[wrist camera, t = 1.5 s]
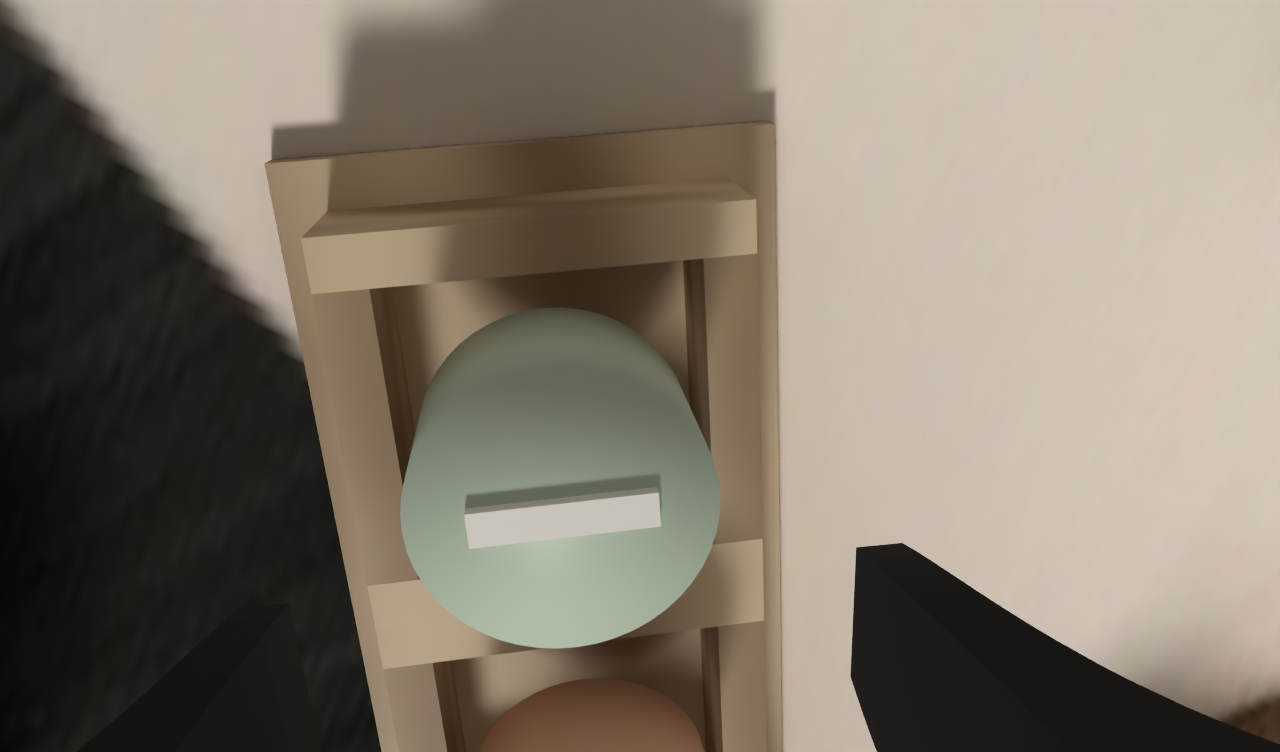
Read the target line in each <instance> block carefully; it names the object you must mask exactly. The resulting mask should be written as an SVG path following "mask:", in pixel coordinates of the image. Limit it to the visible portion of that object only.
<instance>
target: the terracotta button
mask: <svg viewBox="0 0 1280 752" xmlns="http://www.w3.org/2000/svg"><path fill="white" fill-rule="evenodd" d="M478 752H704V748H703V745H702V742H701V738H700V735H699V733H698V731H697V729H696V727H695V725H694V723H693V722H692V721H691V719H690V718H689V716H688V715H687V714H686V713H685V712H684V711H683V710H682V709H681V708H680V707H679V706H678V705H677V704H676V703H675V702H673V701H672V700H671V699H669V698H668V697H667V696H665V695H663V694H661V693H659V692H658V691H656V690H654V689H651V688H649V687H646V686H644V685H641V684H637V683H634V682H630V681H625V680H618V679H609V678H591V679H580V680H574V681H569V682H564V683H561V684H557V685H554V686H551V687H548V688H546V689H543V690H541V691H539V692H536V693H534V694H532V695H531V696H529V697H527V698H525V699H524V700H522V701H520V702H519V703H518V704H516V705H515V706H513V707H512V708H511V709H509V710H508V711H507V712H506V713H505V714H504V715H503V716H502V717H501V718H500V719H499V720H498V721H497V722H496V723H495V724H494V726H493V727H492V728H491V729H490V731H489V732H488V734H487V735H486V737H485V739H484V740H483V742H482V744H481V746H480V749H479V751H478Z"/></svg>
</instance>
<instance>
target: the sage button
mask: <svg viewBox="0 0 1280 752" xmlns="http://www.w3.org/2000/svg"><path fill="white" fill-rule="evenodd" d="M719 516H720V489H719V480H718V475H717V471H716V468H715V464H714V460H713V458H712V455H711V453H710V451H709V448H708V446H707V444H706V441H705V439H704V437H703V435H702V433H701V430H700V428H699V426H698V424H697V422H696V419H695V417H694V415H693V413H692V411H691V408H690V406H689V404H688V402H687V400H686V397H685V395H684V393H683V391H682V388H681V386H680V384H679V382H678V380H677V377H676V375H675V374H674V372H673V371H672V369H671V367H670V366H669V364H668V362H667V361H666V360H665V359H664V357H663V356H662V355H661V354H660V352H659V351H658V350H657V349H656V348H655V347H654V346H653V345H652V344H651V343H650V342H649V341H647V340H646V339H645V338H644V337H643V336H641V335H640V334H639V333H637V332H636V331H634V330H633V329H631V328H630V327H628V326H626V325H624V324H622V323H620V322H618V321H617V320H615V319H612V318H609V317H606V316H604V315H601V314H598V313H594V312H590V311H585V310H581V309H572V308H562V307H559V308H540V309H533V310H527V311H522V312H519V313H515V314H512V315H509V316H506V317H503V318H501V319H499V320H496V321H494V322H492V323H489V324H488V325H486V326H484V327H483V328H481V329H479V330H478V331H476V332H474V333H473V334H472V335H470V336H469V337H468V338H467V339H465V340H464V341H463V342H462V343H460V344H459V345H458V346H457V347H456V348H455V349H454V350H453V351H452V352H451V353H450V354H449V356H448V357H447V358H446V359H445V361H444V362H443V363H442V365H441V366H440V367H439V369H438V370H437V372H436V373H435V375H434V377H433V379H432V381H431V383H430V385H429V387H428V389H427V392H426V395H425V398H424V400H423V404H422V408H421V412H420V416H419V420H418V425H417V429H416V433H415V437H414V441H413V445H412V450H411V454H410V458H409V462H408V466H407V471H406V475H405V479H404V484H403V489H402V494H401V508H400V518H401V529H402V535H403V539H404V543H405V547H406V551H407V554H408V556H409V559H410V561H411V563H412V566H413V568H414V570H415V572H416V573H417V575H418V577H419V578H420V580H421V582H422V583H423V585H424V586H425V587H426V589H427V590H428V591H429V592H430V594H431V595H432V596H433V597H434V599H435V600H436V601H437V602H439V603H440V604H441V605H442V606H443V607H444V608H445V609H446V610H447V611H448V612H449V613H451V614H452V615H453V616H455V617H456V618H458V619H459V620H460V621H462V622H463V623H465V624H466V625H468V626H470V627H472V628H474V629H475V630H477V631H479V632H481V633H483V634H486V635H488V636H491V637H493V638H496V639H498V640H502V641H505V642H509V643H513V644H517V645H522V646H529V647H535V648H555V649H558V648H572V647H581V646H586V645H592V644H597V643H600V642H604V641H607V640H610V639H614V638H617V637H619V636H621V635H624V634H626V633H628V632H631V631H633V630H635V629H637V628H639V627H640V626H642V625H644V624H646V623H647V622H649V621H651V620H652V619H654V618H655V617H656V616H658V615H659V614H661V613H662V612H663V611H665V610H666V609H667V608H668V607H669V606H670V605H672V604H673V603H674V602H675V601H676V600H677V599H678V598H679V597H680V596H681V595H682V594H683V593H684V592H685V590H686V589H687V588H688V587H689V586H690V584H691V583H692V582H693V581H694V579H695V578H696V576H697V575H698V573H699V571H700V570H701V568H702V567H703V565H704V563H705V561H706V559H707V557H708V555H709V553H710V551H711V548H712V545H713V542H714V539H715V535H716V532H717V527H718V521H719Z"/></svg>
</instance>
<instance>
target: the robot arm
mask: <svg viewBox="0 0 1280 752" xmlns="http://www.w3.org/2000/svg"><path fill="white" fill-rule="evenodd" d="M851 679H852V682H853V685H854V688H855V691H856V694H857V697H858V700H859V703H860V706H861V709H862V712H863V715H864V718H865V720H866V723H867V726H868V729H869V731H870V734H871V737H872V740H873V742H874V745H875V748H876V750H877V752H1280V745H1279V744H1276V743H1274V742H1271V741H1269V740H1266V739H1264V738H1261V737H1259V736H1256V735H1253V734H1251V733H1248V732H1246V731H1243V730H1241V729H1238V728H1236V727H1233V726H1230V725H1228V724H1225V723H1223V722H1220V721H1218V720H1215V719H1213V718H1211V717H1208V716H1206V715H1204V714H1201V713H1199V712H1197V711H1194V710H1192V709H1190V708H1187V707H1185V706H1183V705H1181V704H1179V703H1176V702H1174V701H1172V700H1170V699H1168V698H1166V697H1164V696H1162V695H1159V694H1157V693H1155V692H1153V691H1151V690H1149V689H1147V688H1145V687H1143V686H1140V685H1138V684H1136V683H1134V682H1132V681H1130V680H1128V679H1126V678H1124V677H1122V676H1120V675H1118V674H1116V673H1114V672H1112V671H1110V670H1108V669H1106V668H1105V667H1103V666H1101V665H1099V664H1097V663H1095V662H1094V661H1092V660H1090V659H1088V658H1086V657H1085V656H1083V655H1081V654H1079V653H1078V652H1076V651H1074V650H1072V649H1070V648H1069V647H1067V646H1065V645H1063V644H1061V643H1060V642H1058V641H1056V640H1054V639H1053V638H1051V637H1049V636H1048V635H1046V634H1044V633H1043V632H1041V631H1039V630H1038V629H1036V628H1034V627H1033V626H1031V625H1029V624H1028V623H1026V622H1025V621H1023V620H1021V619H1020V618H1018V617H1016V616H1015V615H1013V614H1012V613H1010V612H1009V611H1007V610H1005V609H1004V608H1002V607H1001V606H999V605H998V604H996V603H994V602H993V601H991V600H990V599H988V598H987V597H985V596H984V595H982V594H981V593H979V592H977V591H976V590H974V589H973V588H971V587H970V586H968V585H967V584H965V583H964V582H962V581H961V580H959V579H958V578H956V577H955V576H953V575H952V574H950V573H949V572H947V571H946V570H944V569H943V568H941V567H940V566H938V565H937V564H935V563H934V562H932V561H931V560H929V559H927V558H926V557H924V556H923V555H921V554H920V553H918V552H916V551H915V550H913V549H911V548H910V547H908V546H906V545H905V544H903V543H899V544H888V545H878V546H868V547H858V548H856V569H855V592H854V614H853V637H852V659H851ZM316 739H317V732H316V728H315V723H314V718H313V713H312V709H311V704H310V699H309V695H308V690H307V685H306V680H305V676H304V671H303V666H302V661H301V657H300V652H299V647H298V643H297V638H296V633H295V628H294V624H293V619H292V614H291V609H290V605H289V603H287V604H276V605H266V606H256V607H246V608H238V609H237V610H236V611H235V612H234V613H232V614H231V615H230V616H229V617H228V618H226V619H225V620H224V621H223V622H222V623H221V624H220V625H219V626H217V627H216V628H215V629H214V630H213V631H212V632H211V633H210V634H209V635H208V636H207V637H205V638H204V639H203V640H202V641H201V642H200V643H199V644H198V645H197V646H196V647H195V648H194V649H193V650H191V651H190V652H189V653H188V654H187V655H186V656H185V657H184V658H183V659H182V660H181V661H180V662H179V663H178V664H176V665H175V666H174V667H173V668H172V669H171V670H170V671H169V672H168V673H167V674H166V675H164V676H163V677H162V678H161V679H160V680H159V681H158V682H157V683H156V684H155V685H153V686H152V687H151V688H150V689H149V690H148V691H147V692H146V693H145V694H143V695H142V696H141V697H140V698H139V699H138V700H137V701H136V702H135V703H134V704H132V705H131V706H130V707H129V708H128V709H127V710H126V711H125V712H124V713H122V714H121V715H120V716H119V717H118V718H117V719H115V720H114V721H113V722H112V723H111V724H109V725H108V726H107V727H106V728H105V729H103V730H102V731H101V732H100V733H99V734H97V735H96V736H95V737H94V738H93V739H91V740H90V741H89V742H88V743H87V744H85V745H84V746H83V747H82V748H81V749H79V750H78V751H77V752H314V751H315V745H316Z"/></svg>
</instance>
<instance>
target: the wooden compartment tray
mask: <svg viewBox="0 0 1280 752" xmlns="http://www.w3.org/2000/svg"><path fill="white" fill-rule="evenodd" d="M265 168H266V173H267V178H268V183H269V188H270V193H271V198H272V203H273V208H274V214H275V219H276V224H277V229H278V234H279V239H280V244H281V249H282V254H283V259H284V264H285V269H286V274H287V279H288V284H289V289H290V294H291V299H292V304H293V309H294V314H295V319H296V324H297V329H298V334H299V339H300V344H301V349H302V354H303V359H304V364H305V369H306V374H307V379H308V384H309V389H310V394H311V399H312V404H313V409H314V414H315V419H316V424H317V429H318V434H319V439H320V444H321V449H322V454H323V459H324V464H325V469H326V474H327V479H328V484H329V489H330V494H331V500H332V505H333V510H334V515H335V520H336V525H337V530H338V535H339V540H340V545H341V550H342V555H343V560H344V565H345V570H346V575H347V580H348V585H349V590H350V595H351V600H352V605H353V610H354V615H355V620H356V625H357V630H358V635H359V640H360V645H361V650H362V655H363V660H364V665H365V670H366V675H367V680H368V685H369V690H370V695H371V700H372V705H373V710H374V715H375V720H376V725H377V730H378V735H379V740H380V745H381V750H382V752H478V751H479V749H480V746H481V744H482V742H483V740H484V739H485V737H486V735H487V734H488V732H489V731H490V729H491V728H492V727H493V726H494V724H495V723H496V722H497V721H498V720H499V719H500V718H501V717H502V716H503V715H504V714H505V713H506V712H507V711H508V710H509V709H511V708H512V707H513V706H515V705H516V704H518V703H519V702H520V701H522V700H524V699H525V698H527V697H529V696H531V695H532V694H534V693H536V692H539V691H541V690H543V689H546V688H548V687H551V686H554V685H557V684H561V683H564V682H569V681H574V680H580V679H591V678H609V679H618V680H625V681H630V682H634V683H637V684H641V685H644V686H646V687H649V688H651V689H654V690H656V691H658V692H659V693H661V694H663V695H665V696H667V697H668V698H669V699H671V700H672V701H673V702H675V703H676V704H677V705H678V706H679V707H680V708H681V709H682V710H683V711H684V712H685V713H686V714H687V715H688V716H689V718H690V719H691V721H692V722H693V723H694V725H695V727H696V729H697V731H698V733H699V735H700V738H701V742H702V745H703V748H704V752H782V708H781V622H780V535H779V449H778V362H777V276H776V189H775V124H774V123H772V122H769V121H765V122H753V123H740V124H727V125H714V126H701V127H689V128H676V129H663V130H650V131H638V132H625V133H612V134H599V135H586V136H574V137H561V138H548V139H535V140H522V141H510V142H497V143H484V144H471V145H459V146H446V147H433V148H420V149H407V150H395V151H382V152H369V153H356V154H344V155H331V156H318V157H305V158H292V159H280V160H270V161H269V162H267V163H265ZM559 307H562V308H572V309H581V310H585V311H590V312H594V313H598V314H601V315H604V316H606V317H609V318H612V319H615V320H617V321H618V322H620V323H622V324H624V325H626V326H628V327H630V328H631V329H633V330H634V331H636V332H637V333H639V334H640V335H641V336H643V337H644V338H645V339H646V340H647V341H649V342H650V343H651V344H652V345H653V346H654V347H655V348H656V349H657V350H658V351H659V352H660V354H661V355H662V356H663V357H664V359H665V360H666V361H667V362H668V364H669V366H670V367H671V369H672V371H673V372H674V374H675V375H676V377H677V380H678V382H679V384H680V386H681V388H682V391H683V393H684V395H685V397H686V400H687V402H688V404H689V406H690V408H691V411H692V413H693V415H694V417H695V419H696V422H697V424H698V426H699V428H700V430H701V433H702V435H703V437H704V439H705V441H706V444H707V446H708V448H709V451H710V453H711V455H712V458H713V460H714V464H715V468H716V471H717V475H718V480H719V489H720V516H719V521H718V527H717V532H716V535H715V539H714V542H713V545H712V548H711V551H710V553H709V555H708V557H707V559H706V561H705V563H704V565H703V567H702V568H701V570H700V571H699V573H698V575H697V576H696V578H695V579H694V581H693V582H692V583H691V584H690V586H689V587H688V588H687V589H686V590H685V592H684V593H683V594H682V595H681V596H680V597H679V598H678V599H677V600H676V601H675V602H674V603H673V604H672V605H670V606H669V607H668V608H667V609H666V610H665V611H663V612H662V613H661V614H659V615H658V616H656V617H655V618H654V619H652V620H651V621H649V622H647V623H646V624H644V625H642V626H640V627H639V628H637V629H635V630H633V631H631V632H628V633H626V634H624V635H621V636H619V637H617V638H614V639H610V640H607V641H604V642H600V643H597V644H592V645H586V646H581V647H572V648H558V649H555V648H535V647H529V646H522V645H517V644H513V643H509V642H505V641H502V640H498V639H496V638H493V637H491V636H488V635H486V634H483V633H481V632H479V631H477V630H475V629H474V628H472V627H470V626H468V625H466V624H465V623H463V622H462V621H460V620H459V619H458V618H456V617H455V616H453V615H452V614H451V613H449V612H448V611H447V610H446V609H445V608H444V607H443V606H442V605H441V604H440V603H439V602H437V601H436V600H435V599H434V597H433V596H432V595H431V594H430V592H429V591H428V590H427V589H426V587H425V586H424V585H423V583H422V582H421V580H420V578H419V577H418V575H417V573H416V572H415V570H414V568H413V566H412V563H411V561H410V559H409V556H408V554H407V551H406V547H405V543H404V539H403V535H402V529H401V518H400V508H401V494H402V489H403V484H404V479H405V475H406V471H407V466H408V462H409V458H410V454H411V450H412V445H413V441H414V437H415V433H416V429H417V425H418V420H419V416H420V412H421V408H422V404H423V400H424V398H425V395H426V392H427V389H428V387H429V385H430V383H431V381H432V379H433V377H434V375H435V373H436V372H437V370H438V369H439V367H440V366H441V365H442V363H443V362H444V361H445V359H446V358H447V357H448V356H449V354H450V353H451V352H452V351H453V350H454V349H455V348H456V347H457V346H458V345H459V344H460V343H462V342H463V341H464V340H465V339H467V338H468V337H469V336H470V335H472V334H473V333H474V332H476V331H478V330H479V329H481V328H483V327H484V326H486V325H488V324H489V323H492V322H494V321H496V320H499V319H501V318H503V317H506V316H509V315H512V314H515V313H519V312H522V311H527V310H533V309H540V308H559Z"/></svg>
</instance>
